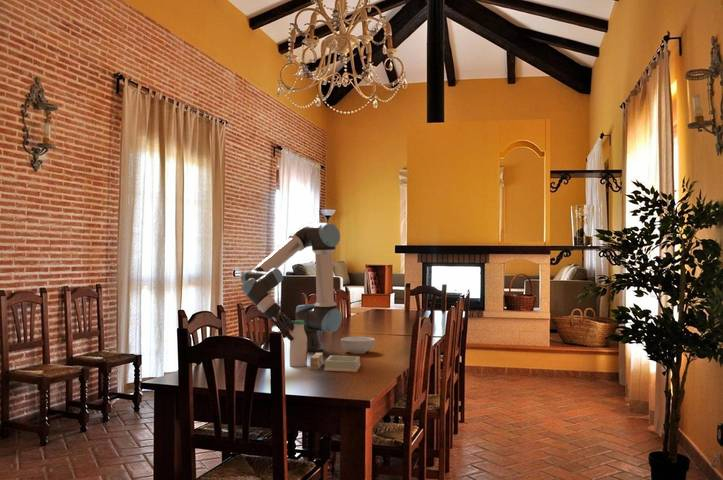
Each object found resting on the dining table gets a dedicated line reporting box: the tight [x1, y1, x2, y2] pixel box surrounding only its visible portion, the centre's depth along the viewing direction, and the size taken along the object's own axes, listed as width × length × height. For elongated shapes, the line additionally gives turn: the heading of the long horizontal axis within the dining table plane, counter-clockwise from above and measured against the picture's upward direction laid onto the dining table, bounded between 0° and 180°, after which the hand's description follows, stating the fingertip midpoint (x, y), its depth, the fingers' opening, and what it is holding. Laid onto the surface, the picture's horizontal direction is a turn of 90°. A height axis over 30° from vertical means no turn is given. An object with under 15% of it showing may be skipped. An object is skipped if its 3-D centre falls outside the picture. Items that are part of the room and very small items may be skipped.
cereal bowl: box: [340, 336, 376, 355], centre depth 301 cm, size 17×17×7 cm
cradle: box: [323, 354, 361, 373], centre depth 262 cm, size 14×14×4 cm
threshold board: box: [309, 352, 324, 371], centre depth 263 cm, size 14×3×5 cm, turn 174°
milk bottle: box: [289, 319, 308, 368], centre depth 265 cm, size 8×8×20 cm
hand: (301, 342), depth 265 cm, fingers open, 13 cm apart
